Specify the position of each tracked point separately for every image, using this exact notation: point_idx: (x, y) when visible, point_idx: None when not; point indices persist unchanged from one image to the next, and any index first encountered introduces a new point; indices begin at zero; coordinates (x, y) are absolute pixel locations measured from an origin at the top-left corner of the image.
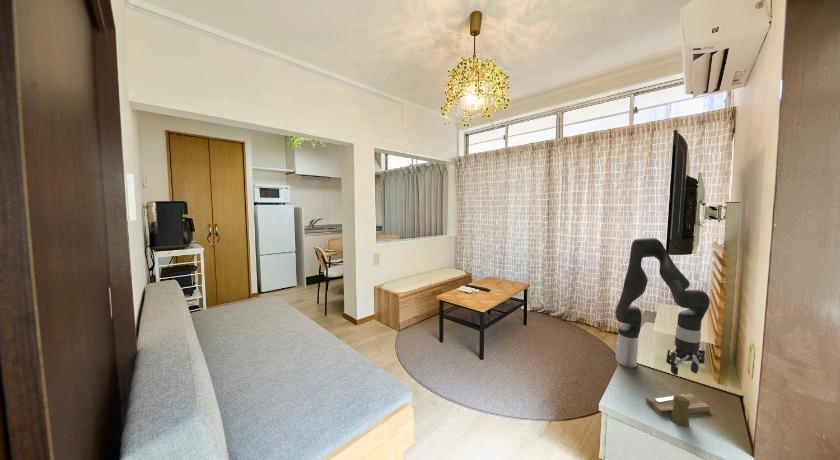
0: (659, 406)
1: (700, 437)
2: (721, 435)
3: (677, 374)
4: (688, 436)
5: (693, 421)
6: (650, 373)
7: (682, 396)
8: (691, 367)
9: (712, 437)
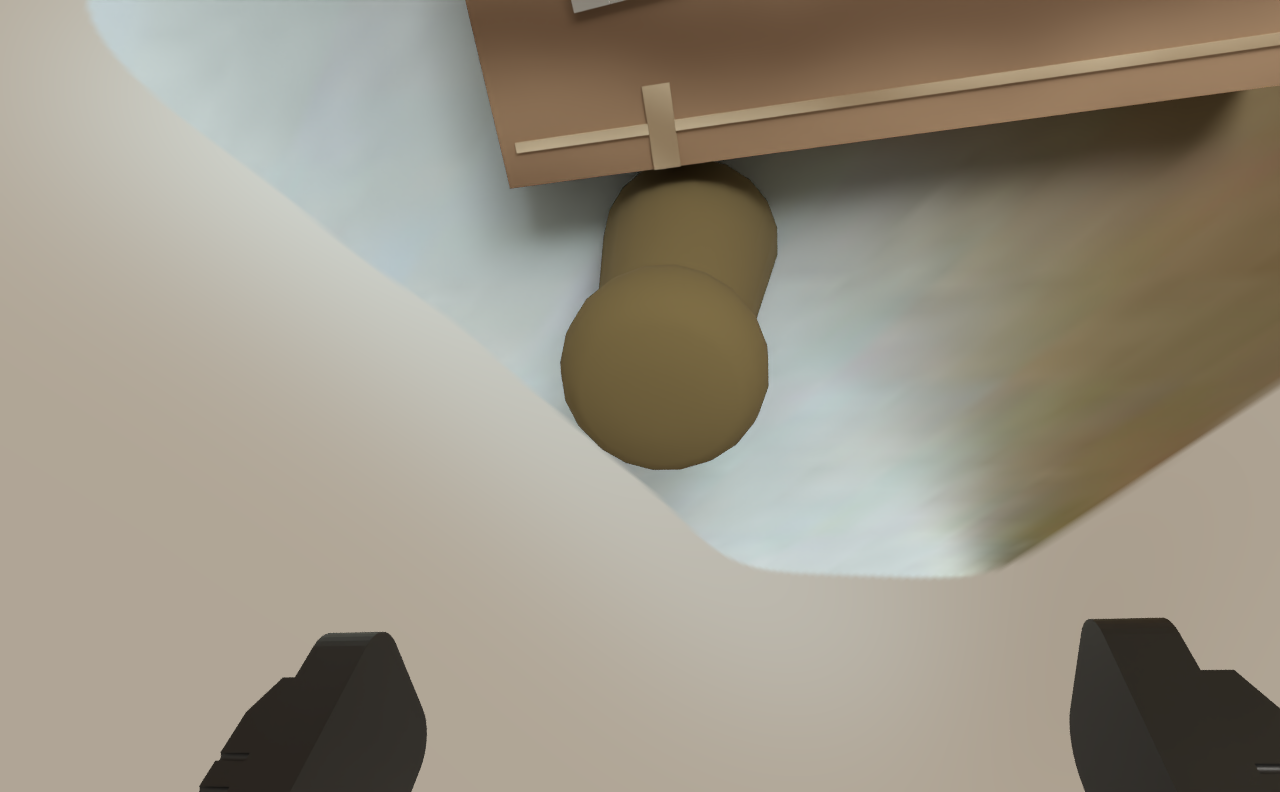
0: (531, 105)
1: None
2: (966, 425)
3: (414, 768)
4: None
5: (850, 248)
6: None
7: (695, 377)
8: (1146, 749)
9: (848, 444)
